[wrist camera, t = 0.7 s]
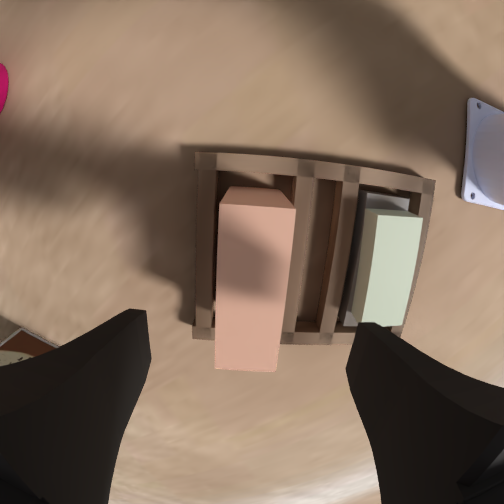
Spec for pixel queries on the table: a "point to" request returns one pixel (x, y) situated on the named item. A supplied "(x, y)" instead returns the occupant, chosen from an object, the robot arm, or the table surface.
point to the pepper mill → (3, 85)
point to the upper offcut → (386, 266)
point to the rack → (301, 237)
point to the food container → (23, 347)
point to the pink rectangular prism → (252, 277)
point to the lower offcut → (364, 201)
